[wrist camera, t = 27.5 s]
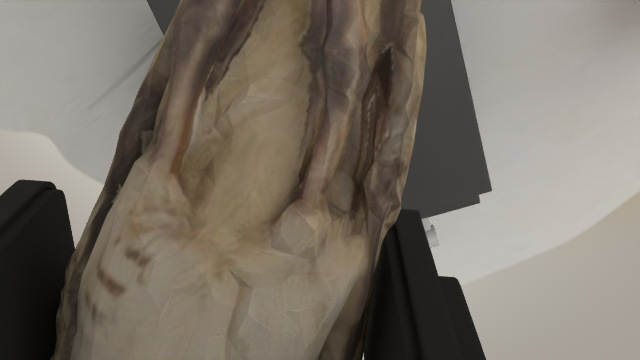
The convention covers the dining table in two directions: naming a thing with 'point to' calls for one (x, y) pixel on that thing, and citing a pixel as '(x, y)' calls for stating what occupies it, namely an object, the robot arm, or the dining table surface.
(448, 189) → the dark grey box
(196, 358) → the bird model
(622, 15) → the dining table surface
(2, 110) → the dining table surface
